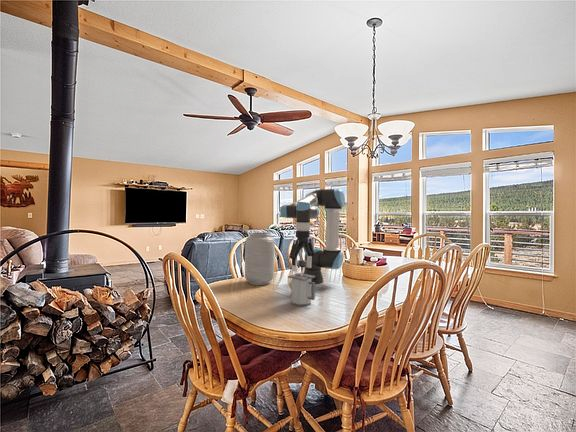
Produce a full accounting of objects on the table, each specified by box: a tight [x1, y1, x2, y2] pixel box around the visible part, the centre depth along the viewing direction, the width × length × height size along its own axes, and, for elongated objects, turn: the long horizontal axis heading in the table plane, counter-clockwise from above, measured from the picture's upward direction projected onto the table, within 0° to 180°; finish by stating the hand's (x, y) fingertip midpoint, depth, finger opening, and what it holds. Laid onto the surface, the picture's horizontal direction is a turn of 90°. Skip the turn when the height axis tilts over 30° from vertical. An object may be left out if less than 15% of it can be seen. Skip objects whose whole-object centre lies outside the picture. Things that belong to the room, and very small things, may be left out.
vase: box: [244, 232, 276, 286], centre depth 205 cm, size 20×20×34 cm
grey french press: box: [287, 272, 316, 307], centre depth 162 cm, size 11×14×15 cm
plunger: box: [297, 259, 306, 277], centre depth 163 cm, size 7×7×17 cm
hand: (301, 269), depth 163 cm, fingers open, 13 cm apart
